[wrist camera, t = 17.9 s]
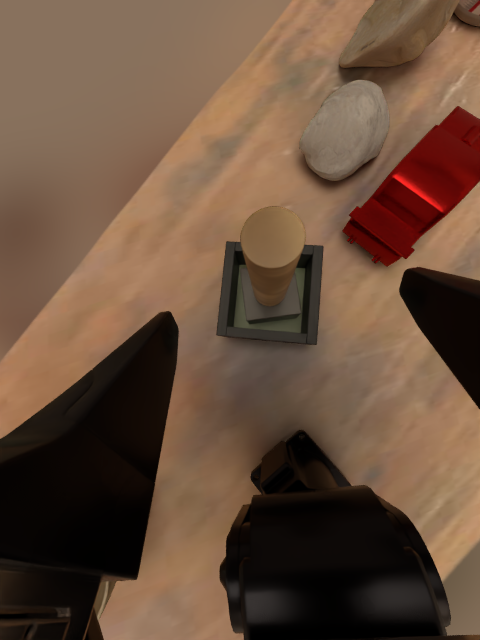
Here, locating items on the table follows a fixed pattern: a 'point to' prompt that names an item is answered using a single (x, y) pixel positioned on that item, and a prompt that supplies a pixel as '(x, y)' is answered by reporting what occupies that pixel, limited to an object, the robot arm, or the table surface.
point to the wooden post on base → (271, 264)
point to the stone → (396, 32)
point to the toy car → (419, 189)
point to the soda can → (468, 11)
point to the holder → (279, 331)
